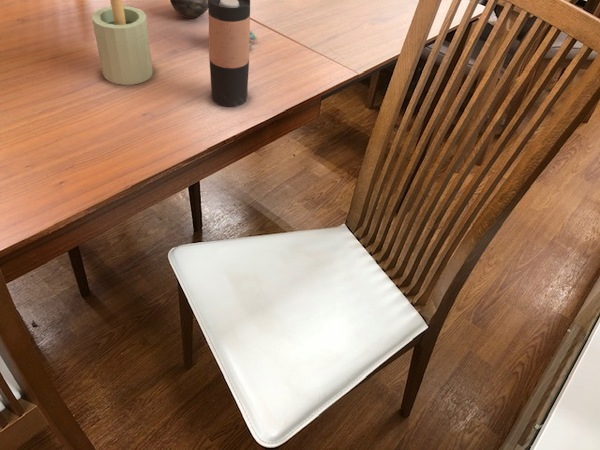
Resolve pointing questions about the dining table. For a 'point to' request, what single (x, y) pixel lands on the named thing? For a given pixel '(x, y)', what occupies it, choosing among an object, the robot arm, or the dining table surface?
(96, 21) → the jar
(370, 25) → the dining table surface
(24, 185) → the dining table surface
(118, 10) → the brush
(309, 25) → the dining table surface
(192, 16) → the decorative stone
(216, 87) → the travel mug
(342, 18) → the dining table surface
